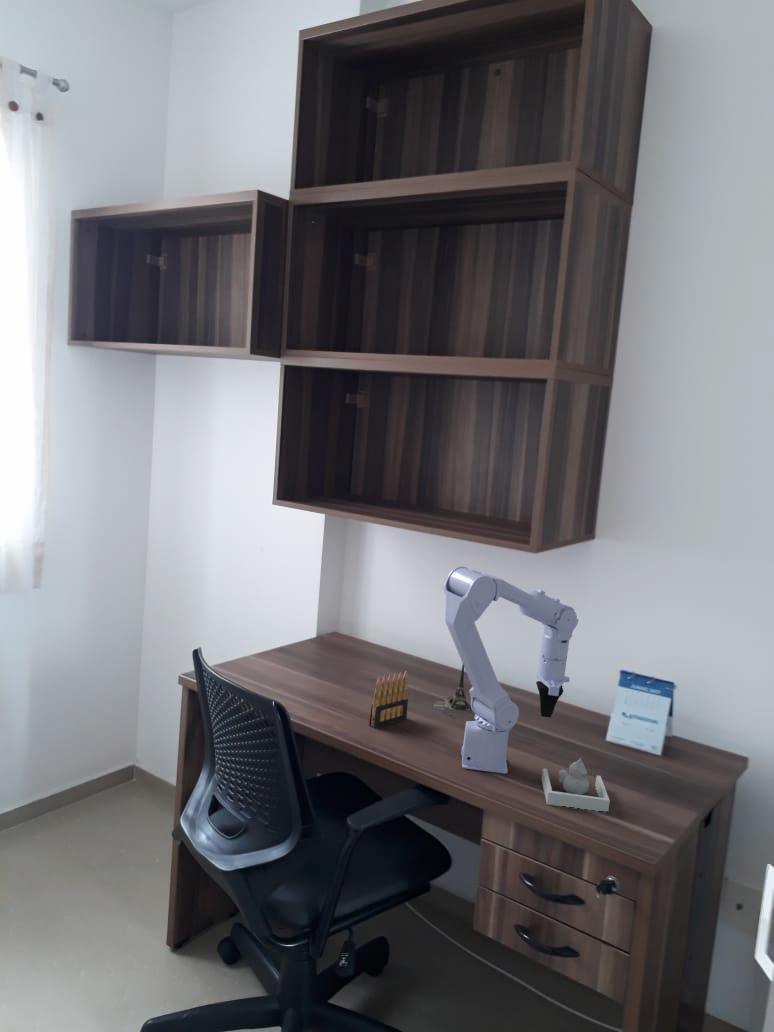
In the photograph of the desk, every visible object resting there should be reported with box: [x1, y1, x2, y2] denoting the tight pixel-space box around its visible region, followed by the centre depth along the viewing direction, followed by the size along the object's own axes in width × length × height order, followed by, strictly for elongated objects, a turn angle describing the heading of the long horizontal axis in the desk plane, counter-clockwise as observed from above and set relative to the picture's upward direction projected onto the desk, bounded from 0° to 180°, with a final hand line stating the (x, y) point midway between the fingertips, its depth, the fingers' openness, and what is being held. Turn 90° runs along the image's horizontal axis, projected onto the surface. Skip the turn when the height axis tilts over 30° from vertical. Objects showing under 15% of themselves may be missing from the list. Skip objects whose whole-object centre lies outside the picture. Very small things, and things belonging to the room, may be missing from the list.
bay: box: [541, 767, 611, 812], centre depth 163 cm, size 12×11×2 cm
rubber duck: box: [558, 757, 590, 795], centre depth 164 cm, size 5×7×8 cm
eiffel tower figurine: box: [433, 662, 472, 718], centre depth 206 cm, size 15×10×13 cm
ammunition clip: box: [368, 670, 409, 729], centre depth 191 cm, size 11×2×12 cm, turn 134°
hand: (545, 715), depth 179 cm, fingers closed
